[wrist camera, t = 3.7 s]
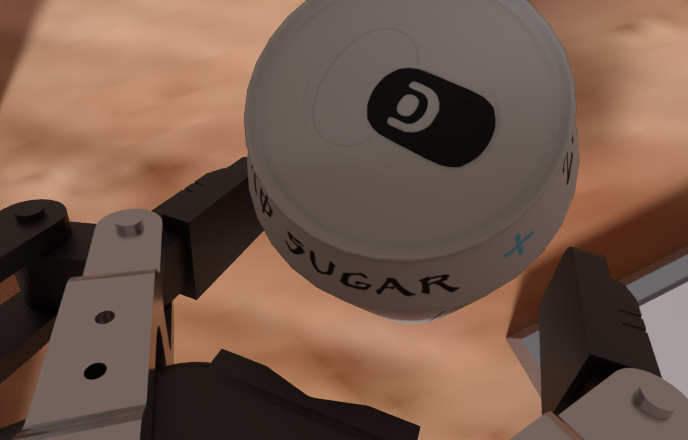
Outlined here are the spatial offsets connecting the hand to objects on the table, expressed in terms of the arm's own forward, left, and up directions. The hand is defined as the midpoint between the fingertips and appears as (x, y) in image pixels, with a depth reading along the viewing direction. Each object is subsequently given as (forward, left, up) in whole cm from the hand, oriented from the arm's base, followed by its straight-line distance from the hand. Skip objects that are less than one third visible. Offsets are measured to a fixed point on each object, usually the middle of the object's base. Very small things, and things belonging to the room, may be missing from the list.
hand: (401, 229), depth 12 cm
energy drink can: (0, 0, -9) cm, 10 cm away
